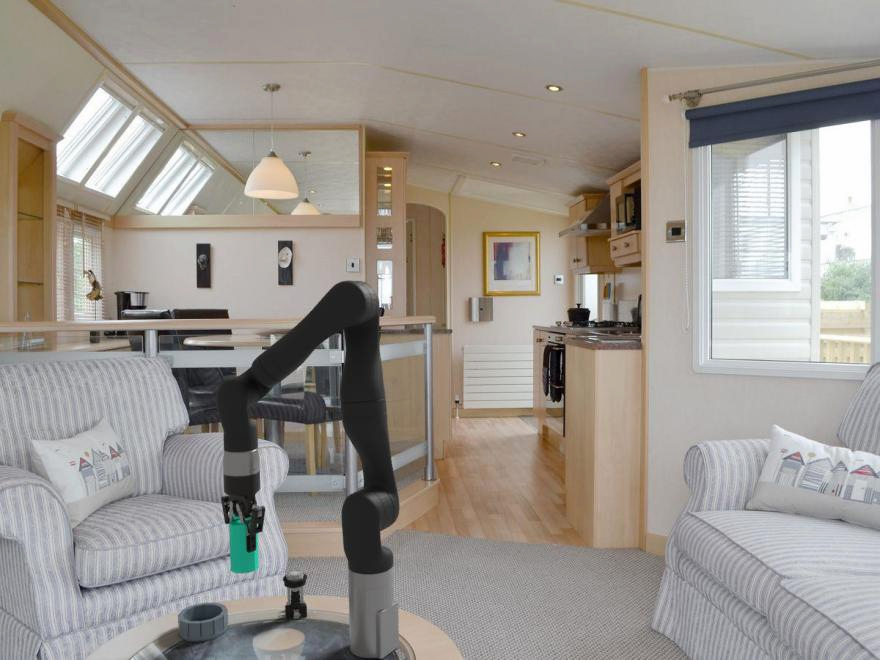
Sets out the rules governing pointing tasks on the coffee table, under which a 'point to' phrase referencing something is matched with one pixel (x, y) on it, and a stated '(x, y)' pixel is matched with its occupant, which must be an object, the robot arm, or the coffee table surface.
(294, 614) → the push button
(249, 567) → the candle
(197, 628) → the candle dish
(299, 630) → the coffee table surface
